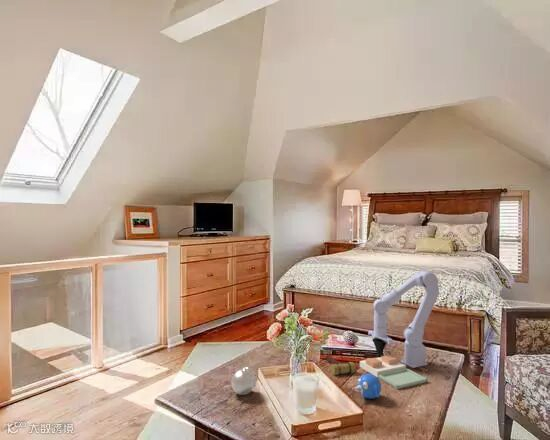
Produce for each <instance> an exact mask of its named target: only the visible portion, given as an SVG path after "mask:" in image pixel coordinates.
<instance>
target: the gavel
mask: <svg viewBox="0 0 550 440" xmlns="http://www.w3.org/2000/svg"><path fill="white" fill-rule="evenodd" d="M324 356H325V357H324V359H325V360H326V361H327V362H328V363H329V364H330V366H329V367H330V368H329V369H330V373H331V375H332V376H339V375H343V374H344V375H346V374H355V373H356V365H355V363H354V362H353V361H349V362H348V361H347V362H346V363H341V362H339V361H338V360H336V359H335V358H334V357H333V356H330V355H328V354H324Z"/></svg>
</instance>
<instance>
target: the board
mask: <svg viewBox="0 0 550 440" xmlns="http://www.w3.org/2000/svg"><path fill="white" fill-rule="evenodd" d="M375 358H376V359H378V360H380V361H381V356H380V357H375ZM359 367H360V368H361V369H362V370H365V371H366V372H368V374H373V375H375V376H376V377H377V378H378V374H381V373H386V372H390V371H395V370H400V369H404V368H407V365H406V364H404V363H402V362H400V361H398V363H396V364H391V365H388V364H387V363H385V362H383V361H382V366H381V367H376V368H372V367H370V366H369V365H367V364H366V359H365V360H363V359H362V360H359Z"/></svg>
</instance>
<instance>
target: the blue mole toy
mask: <svg viewBox="0 0 550 440" xmlns="http://www.w3.org/2000/svg"><path fill="white" fill-rule="evenodd" d="M351 390H352V391H355V392H356V393H358V394H359V395H361V396H362V397H364V398H366V399H369V400H370V399H376V398H380V396H381V395H380V394H381V391H382V383H381V381H380V379H379V378H378V377H376V376H375V375H373V374H371V373H364V374H362V375H361V376H360V377H359V378H358V379H357V385H356V386H355V387H352V389H351Z"/></svg>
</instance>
